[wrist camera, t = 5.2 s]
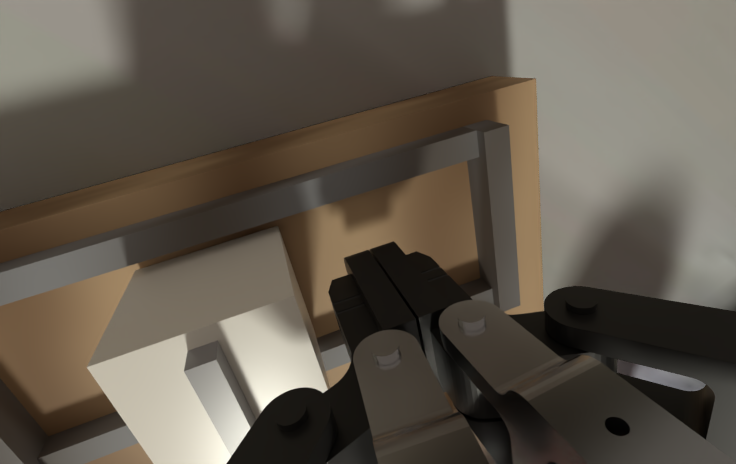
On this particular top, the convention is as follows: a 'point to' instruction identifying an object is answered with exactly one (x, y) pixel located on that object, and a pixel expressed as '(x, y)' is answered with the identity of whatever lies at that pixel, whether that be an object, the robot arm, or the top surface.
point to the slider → (207, 348)
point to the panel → (256, 213)
